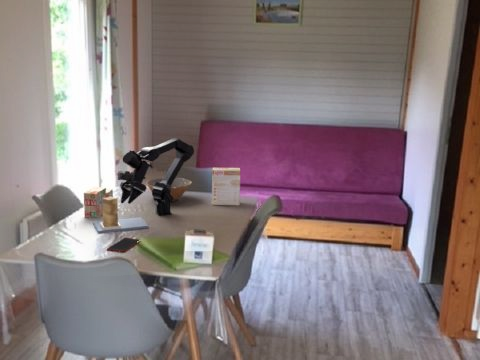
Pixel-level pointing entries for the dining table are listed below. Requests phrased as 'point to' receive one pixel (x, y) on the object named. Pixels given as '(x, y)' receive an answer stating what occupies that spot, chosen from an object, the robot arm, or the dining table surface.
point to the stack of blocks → (95, 201)
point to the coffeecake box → (226, 186)
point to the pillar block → (110, 211)
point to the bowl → (173, 186)
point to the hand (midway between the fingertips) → (125, 203)
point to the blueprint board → (121, 225)
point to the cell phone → (123, 245)
